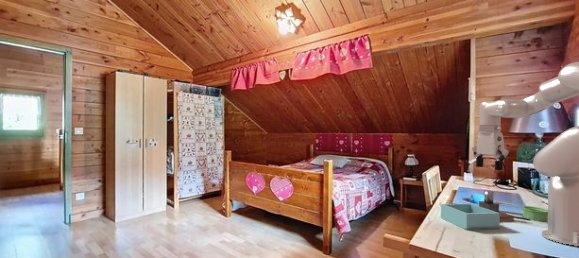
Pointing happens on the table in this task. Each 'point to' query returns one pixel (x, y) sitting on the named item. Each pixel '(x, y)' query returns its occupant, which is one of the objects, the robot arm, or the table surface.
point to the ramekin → (535, 213)
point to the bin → (470, 216)
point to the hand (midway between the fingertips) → (488, 168)
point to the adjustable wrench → (504, 203)
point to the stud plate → (506, 217)
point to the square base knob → (489, 202)
